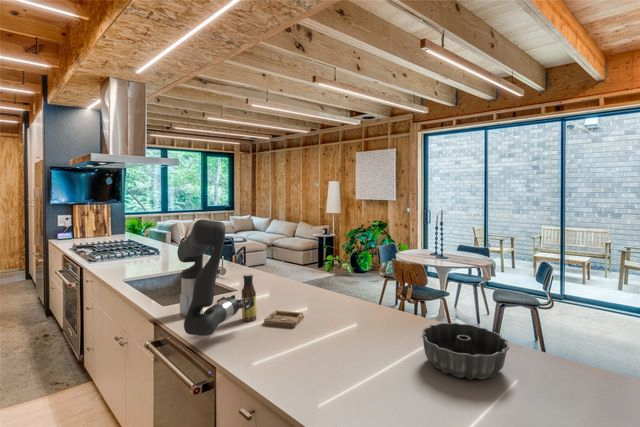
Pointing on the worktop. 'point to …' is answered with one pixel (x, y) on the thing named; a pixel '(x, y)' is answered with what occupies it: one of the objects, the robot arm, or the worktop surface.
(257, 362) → the worktop surface
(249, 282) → the sauce bottle
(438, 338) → the bundt pan
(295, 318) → the dock
